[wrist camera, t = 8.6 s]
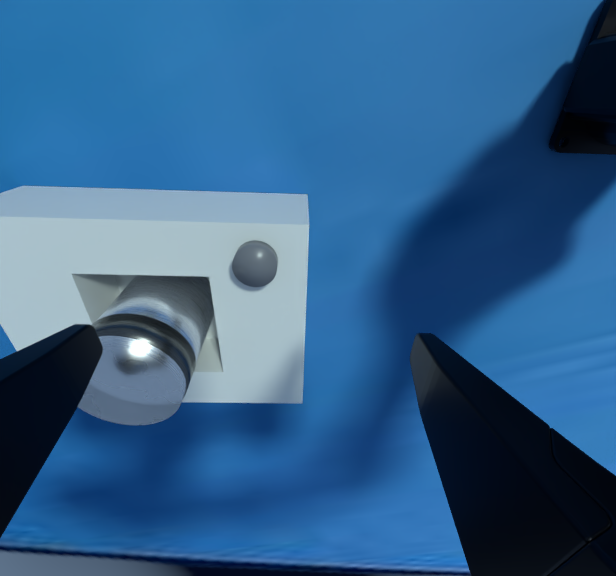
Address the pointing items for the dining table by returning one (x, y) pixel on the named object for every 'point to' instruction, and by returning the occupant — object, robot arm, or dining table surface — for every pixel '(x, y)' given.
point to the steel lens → (149, 348)
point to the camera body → (166, 273)
